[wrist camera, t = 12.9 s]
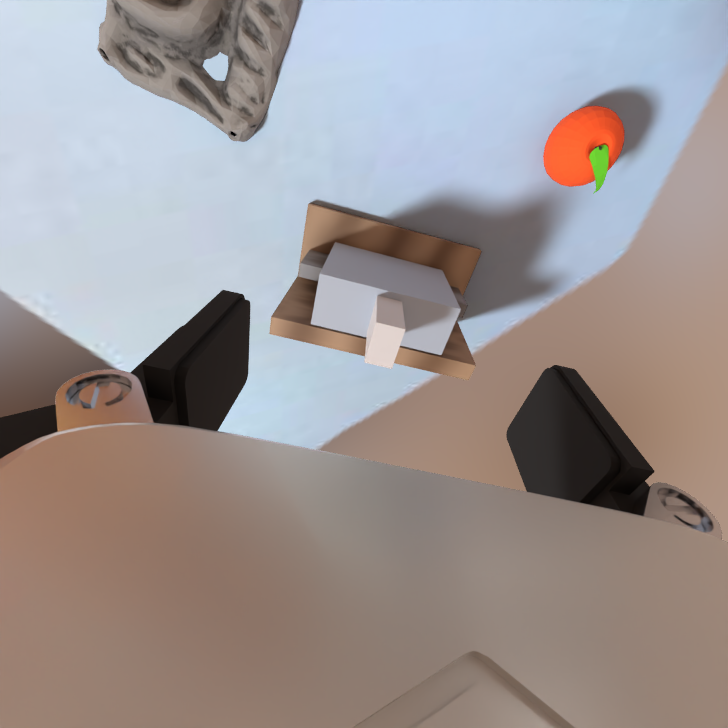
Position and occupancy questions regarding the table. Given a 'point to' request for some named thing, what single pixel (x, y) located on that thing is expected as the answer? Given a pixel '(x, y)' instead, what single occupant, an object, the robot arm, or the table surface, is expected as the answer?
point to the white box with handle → (385, 303)
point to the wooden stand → (388, 241)
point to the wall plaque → (202, 53)
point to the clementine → (584, 146)
